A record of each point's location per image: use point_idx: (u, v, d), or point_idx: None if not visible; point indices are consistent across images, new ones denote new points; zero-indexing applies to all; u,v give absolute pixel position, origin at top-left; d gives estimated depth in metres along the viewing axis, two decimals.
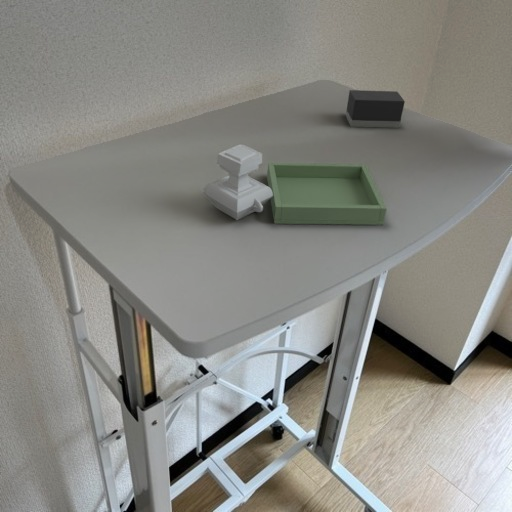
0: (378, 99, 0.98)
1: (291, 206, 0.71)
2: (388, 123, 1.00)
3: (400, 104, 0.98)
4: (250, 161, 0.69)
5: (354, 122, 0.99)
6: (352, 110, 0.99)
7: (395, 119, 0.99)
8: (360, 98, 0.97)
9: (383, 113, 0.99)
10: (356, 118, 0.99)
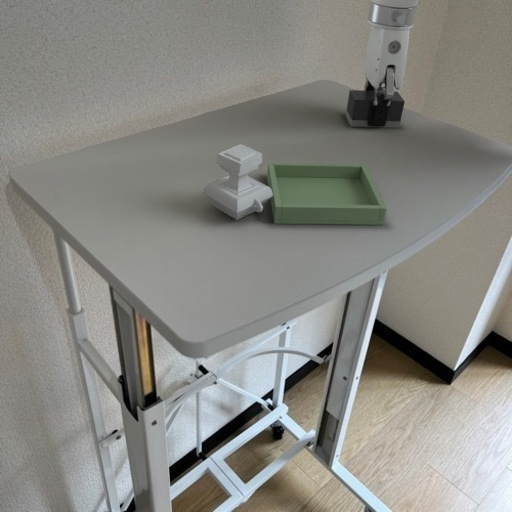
0: None
1: (291, 206, 0.71)
2: (388, 123, 1.00)
3: (400, 104, 0.98)
4: (250, 161, 0.69)
5: (354, 122, 0.99)
6: (352, 110, 0.99)
7: (395, 119, 0.99)
8: (360, 98, 0.97)
9: None
10: (356, 118, 0.99)
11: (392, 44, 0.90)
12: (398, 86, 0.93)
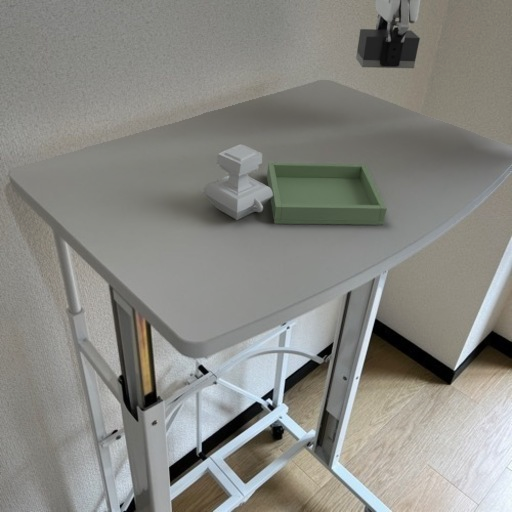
0: None
1: (291, 206, 0.71)
2: (402, 63, 0.93)
3: (415, 41, 0.91)
4: (250, 161, 0.69)
5: (366, 62, 0.93)
6: (363, 49, 0.92)
7: (409, 58, 0.93)
8: (372, 35, 0.91)
9: None
10: (367, 58, 0.93)
11: None
12: (413, 19, 0.87)
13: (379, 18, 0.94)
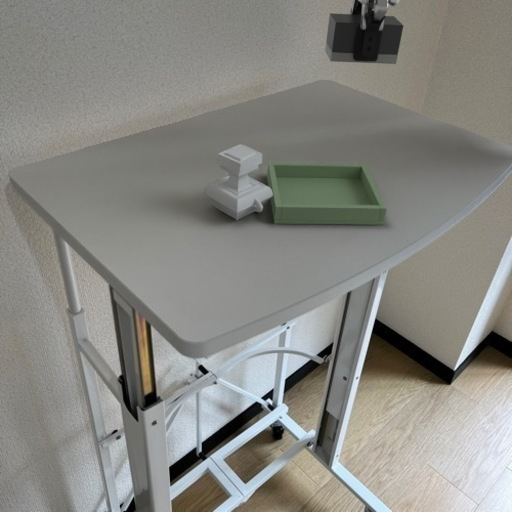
0: None
1: (291, 206, 0.71)
2: (381, 57, 0.74)
3: (397, 30, 0.72)
4: (250, 161, 0.69)
5: (335, 55, 0.74)
6: (332, 38, 0.73)
7: (390, 51, 0.74)
8: (343, 21, 0.72)
9: None
10: (337, 50, 0.73)
11: None
12: (394, 0, 0.68)
13: (354, 0, 0.75)
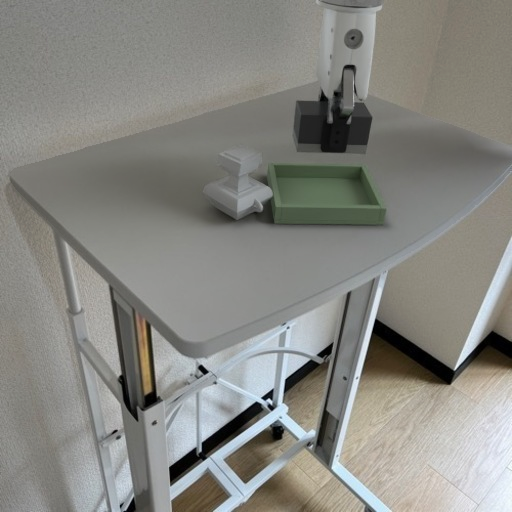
0: None
1: (291, 206, 0.71)
2: (350, 148, 0.70)
3: (366, 121, 0.68)
4: (250, 161, 0.69)
5: (301, 146, 0.70)
6: (298, 129, 0.69)
7: (360, 142, 0.70)
8: (309, 113, 0.68)
9: None
10: (304, 141, 0.69)
11: (350, 34, 0.61)
12: (361, 96, 0.64)
13: (321, 87, 0.71)
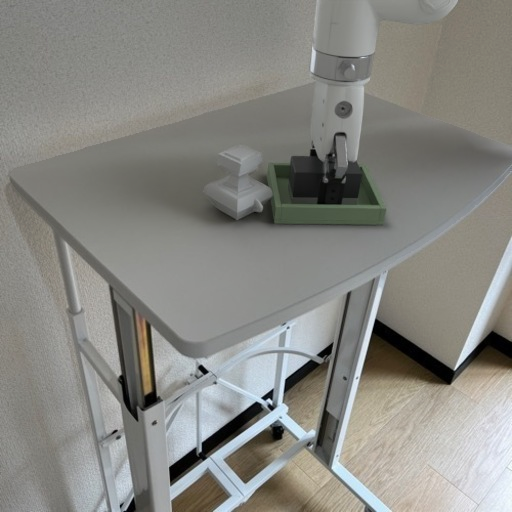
0: None
1: (291, 206, 0.71)
2: (342, 201, 0.75)
3: (356, 177, 0.73)
4: (250, 161, 0.69)
5: (296, 200, 0.74)
6: (293, 184, 0.74)
7: (351, 196, 0.75)
8: (303, 170, 0.73)
9: None
10: (298, 195, 0.74)
11: (341, 104, 0.65)
12: (352, 159, 0.69)
13: None
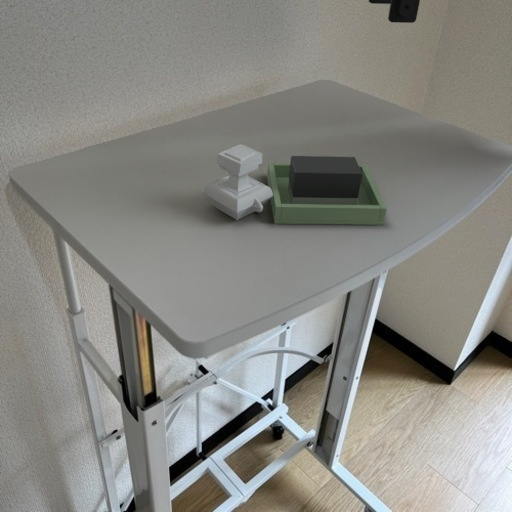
0: (327, 171, 0.73)
1: (291, 206, 0.71)
2: (342, 201, 0.75)
3: (356, 177, 0.73)
4: (250, 161, 0.69)
5: (296, 200, 0.74)
6: (293, 184, 0.74)
7: (351, 196, 0.75)
8: (303, 170, 0.73)
9: (335, 188, 0.74)
10: (298, 195, 0.74)
11: None
12: None
13: None
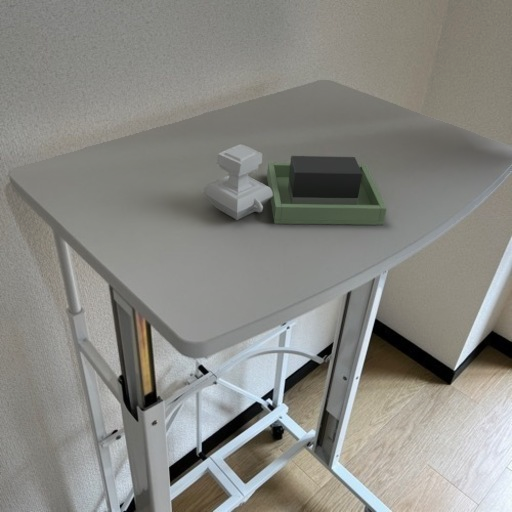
0: (327, 171, 0.73)
1: (291, 206, 0.71)
2: (342, 201, 0.75)
3: (356, 177, 0.73)
4: (250, 161, 0.69)
5: (296, 200, 0.74)
6: (293, 184, 0.74)
7: (351, 196, 0.75)
8: (303, 170, 0.73)
9: (335, 188, 0.74)
10: (298, 195, 0.74)
11: None
12: None
13: None
